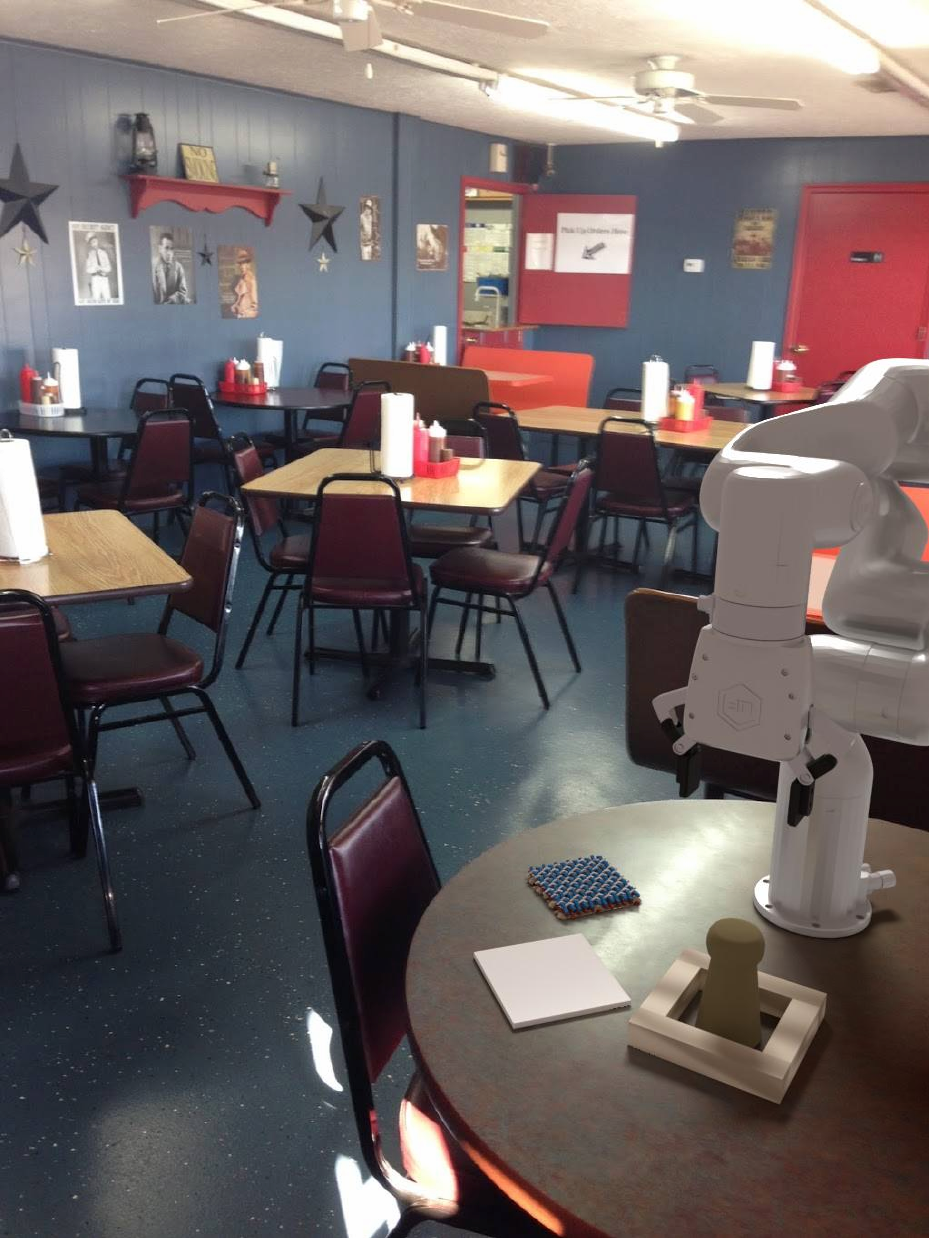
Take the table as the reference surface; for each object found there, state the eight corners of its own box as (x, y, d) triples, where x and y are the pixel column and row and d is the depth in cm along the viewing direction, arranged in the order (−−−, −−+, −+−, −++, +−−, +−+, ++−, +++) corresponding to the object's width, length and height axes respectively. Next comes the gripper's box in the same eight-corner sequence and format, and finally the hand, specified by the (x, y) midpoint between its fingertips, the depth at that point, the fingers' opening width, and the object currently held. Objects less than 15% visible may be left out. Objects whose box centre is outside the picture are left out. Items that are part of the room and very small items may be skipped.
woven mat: (600, 864, 131) (601, 849, 131) (644, 909, 122) (645, 893, 121) (521, 879, 128) (522, 864, 127) (560, 927, 118) (561, 910, 118)
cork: (763, 1056, 97) (773, 949, 94) (694, 1046, 99) (702, 941, 95) (759, 1014, 103) (769, 912, 100) (694, 1006, 104) (702, 905, 101)
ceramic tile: (581, 938, 115) (581, 933, 115) (630, 1005, 104) (631, 1000, 104) (473, 957, 112) (473, 952, 112) (513, 1028, 101) (513, 1023, 101)
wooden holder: (684, 968, 110) (686, 947, 109) (824, 1016, 103) (826, 993, 102) (627, 1044, 99) (628, 1021, 98) (779, 1104, 92) (782, 1079, 91)
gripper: (643, 611, 91) (632, 797, 96) (853, 646, 82) (829, 850, 87) (678, 593, 97) (666, 769, 102) (877, 624, 88) (853, 816, 93)
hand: (741, 806), depth 95 cm, fingers open, 9 cm apart
